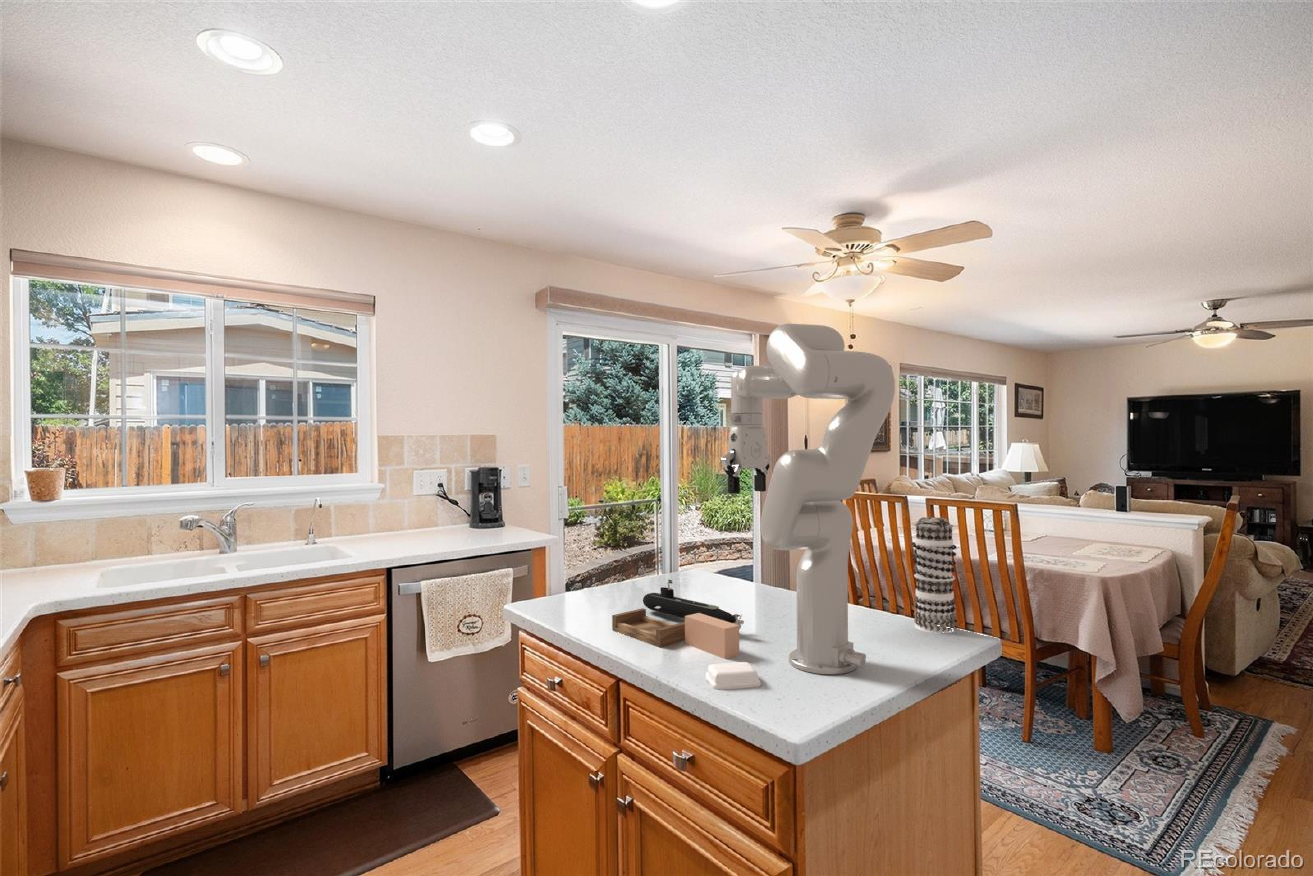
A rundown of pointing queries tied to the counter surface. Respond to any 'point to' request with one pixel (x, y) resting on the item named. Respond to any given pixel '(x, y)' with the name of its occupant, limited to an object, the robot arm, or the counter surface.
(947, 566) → the decorative candle
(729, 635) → the clay block
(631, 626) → the wooden tray
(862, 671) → the counter surface
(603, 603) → the counter surface
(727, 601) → the counter surface
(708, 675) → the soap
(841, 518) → the robot arm
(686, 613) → the submarine model
